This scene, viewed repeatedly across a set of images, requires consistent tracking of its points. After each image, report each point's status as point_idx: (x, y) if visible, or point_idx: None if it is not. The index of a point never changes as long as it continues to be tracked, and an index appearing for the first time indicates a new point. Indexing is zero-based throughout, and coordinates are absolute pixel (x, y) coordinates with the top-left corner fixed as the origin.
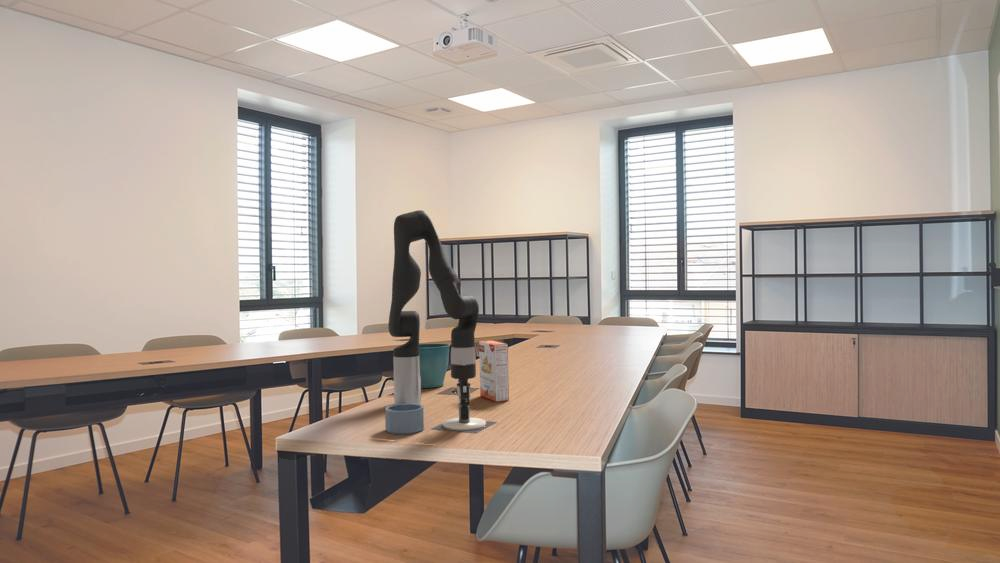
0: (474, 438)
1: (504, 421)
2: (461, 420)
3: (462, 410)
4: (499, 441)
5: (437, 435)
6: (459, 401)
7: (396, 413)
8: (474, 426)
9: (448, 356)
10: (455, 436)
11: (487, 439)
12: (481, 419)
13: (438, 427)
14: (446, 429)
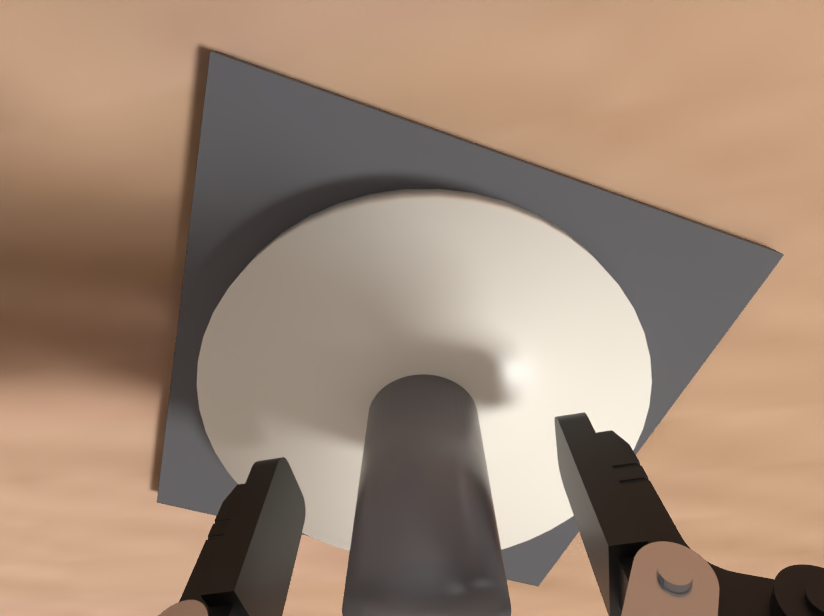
0: (53, 494)
1: (596, 604)
2: (368, 421)
3: (193, 572)
4: (42, 610)
5: (21, 195)
6: (643, 548)
7: None
8: None
9: None
10: (55, 365)
11: (61, 559)
12: (534, 528)
13: (311, 151)
14: (230, 261)
